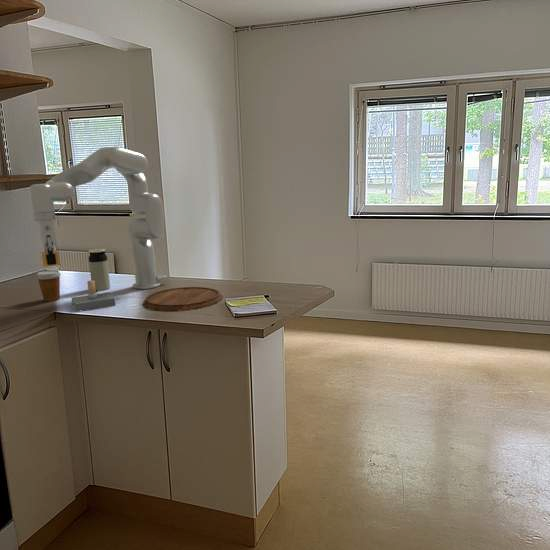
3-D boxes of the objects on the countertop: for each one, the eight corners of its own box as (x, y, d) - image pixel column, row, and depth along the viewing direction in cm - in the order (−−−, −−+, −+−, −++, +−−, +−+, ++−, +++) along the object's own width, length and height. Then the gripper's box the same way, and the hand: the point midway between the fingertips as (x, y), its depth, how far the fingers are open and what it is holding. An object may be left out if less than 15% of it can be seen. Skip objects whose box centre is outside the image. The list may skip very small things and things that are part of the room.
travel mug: (105, 290, 243) (101, 251, 239) (89, 290, 244) (84, 251, 240) (113, 286, 250) (109, 248, 247) (97, 286, 252) (93, 248, 248)
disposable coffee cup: (42, 303, 224) (38, 275, 222) (37, 299, 232) (34, 272, 229) (65, 299, 229) (62, 272, 227) (60, 295, 237) (57, 269, 234)
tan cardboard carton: (58, 262, 212) (56, 250, 211) (60, 264, 207) (58, 252, 206) (42, 264, 210) (40, 251, 209) (43, 266, 204) (41, 254, 203)
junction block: (109, 299, 227) (107, 276, 225) (115, 305, 216) (112, 281, 214) (72, 304, 220) (69, 281, 218) (76, 311, 210) (73, 286, 208)
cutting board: (233, 292, 231) (233, 287, 230) (204, 313, 201) (203, 307, 200) (166, 291, 239) (165, 285, 239) (128, 310, 209) (127, 304, 209)
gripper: (57, 217, 199) (63, 265, 202) (53, 214, 214) (58, 258, 217) (35, 219, 195) (42, 267, 199) (32, 215, 210) (38, 261, 214)
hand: (51, 262), depth 208 cm, fingers closed on tan cardboard carton, 6 cm apart
